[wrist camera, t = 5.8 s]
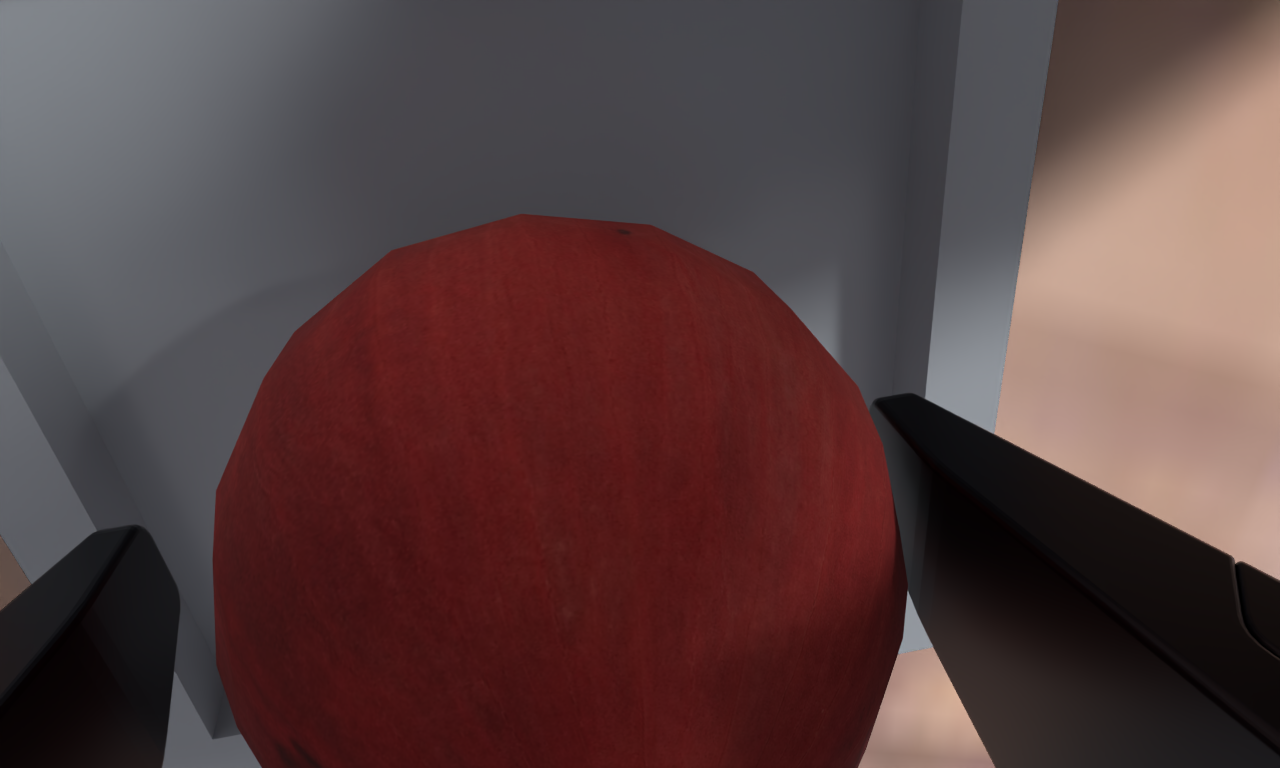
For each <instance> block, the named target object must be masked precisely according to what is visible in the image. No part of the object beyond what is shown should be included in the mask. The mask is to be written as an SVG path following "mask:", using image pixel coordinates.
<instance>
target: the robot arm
mask: <svg viewBox="0 0 1280 768" xmlns="http://www.w3.org/2000/svg"><path fill="white" fill-rule="evenodd" d="M869 413H870V415H871V418H872V420H873V422H874V425H875V427H876V429H877V432H878V434H879V436H880V439H881V441H882V443H883V448H884V453H885V458H886V463H887V468H888V473H889V478H890V483H891V489H892V494H893V499H894V504H895V509H896V514H897V519H898V524H899V529H900V536H901V542H902V549H903V555H904V562H905V568H906V574H907V581H908V592H909V595H910V597H911V600H912V602H913V605H914V607H915V610H916V612H917V615H918V617H919V619H920V621H921V623H922V625H923V627H924V630H925V632H926V634H927V636H928V638H929V640H930V642H931V644H932V646H933V648H934V649H935V651H936V653H937V655H938V657H939V659H940V661H941V663H942V665H943V667H944V669H945V671H946V673H947V675H948V677H949V678H950V680H951V682H952V684H953V686H954V688H955V690H956V692H957V694H958V696H959V698H960V700H961V702H962V704H963V706H964V708H965V709H966V711H967V713H968V715H969V717H970V719H971V721H972V723H973V725H974V727H975V729H976V731H977V733H978V735H979V737H980V739H981V740H982V742H983V744H984V746H985V748H986V750H987V752H988V754H989V756H990V758H991V760H992V762H993V764H994V766H995V768H1280V580H1278V579H1276V578H1274V577H1272V576H1270V575H1268V574H1266V573H1264V572H1262V571H1261V570H1259V569H1257V568H1255V567H1253V566H1251V565H1249V564H1247V563H1245V562H1242V561H1240V562H1237V563H1236V564H1235V560H1234V558H1233V557H1232V556H1231V555H1229V554H1227V553H1225V552H1223V551H1221V550H1219V549H1217V548H1215V547H1213V546H1211V545H1209V544H1207V543H1205V542H1203V541H1201V540H1200V539H1198V538H1196V537H1194V536H1192V535H1190V534H1188V533H1186V532H1184V531H1182V530H1180V529H1178V528H1176V527H1174V526H1172V525H1170V524H1168V523H1166V522H1164V521H1163V520H1161V519H1159V518H1157V517H1155V516H1153V515H1151V514H1149V513H1147V512H1145V511H1143V510H1141V509H1139V508H1137V507H1135V506H1133V505H1131V504H1129V503H1127V502H1126V501H1124V500H1122V499H1120V498H1118V497H1116V496H1114V495H1112V494H1110V493H1108V492H1106V491H1104V490H1102V489H1100V488H1098V487H1096V486H1094V485H1092V484H1090V483H1089V482H1087V481H1085V480H1083V479H1081V478H1079V477H1077V476H1075V475H1073V474H1071V473H1069V472H1067V471H1065V470H1063V469H1061V468H1059V467H1057V466H1055V465H1053V464H1052V463H1050V462H1048V461H1046V460H1044V459H1042V458H1040V457H1038V456H1036V455H1034V454H1032V453H1030V452H1028V451H1026V450H1024V449H1022V448H1020V447H1018V446H1016V445H1014V444H1013V443H1011V442H1009V441H1007V440H1005V439H1003V438H1001V437H999V436H997V435H995V434H993V433H991V432H989V431H987V430H985V429H983V428H981V427H979V426H977V425H976V424H974V423H972V422H970V421H968V420H966V419H964V418H962V417H960V416H958V415H956V414H954V413H952V412H950V411H948V410H946V409H944V408H942V407H940V406H939V405H937V404H935V403H933V402H931V401H929V400H927V399H925V398H923V397H921V396H919V395H917V394H914V393H903V394H897V395H891V396H885V397H879V398H876V399H875V400H874V401H873V402H872V403H871V405H870V408H869ZM180 613H181V600H180V594H179V590H178V587H177V584H176V582H175V580H174V578H173V576H172V574H171V572H170V570H169V568H168V566H167V564H166V562H165V561H164V559H163V557H162V555H161V553H160V551H159V549H158V547H157V545H156V543H155V541H154V539H153V537H152V536H151V534H150V533H149V531H148V530H147V529H146V528H145V527H143V526H140V525H137V524H132V525H126V526H121V527H115V528H109V529H103V530H99V531H96V532H94V533H92V534H90V535H89V536H88V537H87V538H85V539H84V540H83V541H82V542H81V543H80V544H78V545H77V546H76V547H75V548H74V549H72V550H71V551H70V552H69V553H68V554H67V555H65V556H64V557H63V558H62V559H61V560H60V561H58V562H57V563H56V564H55V565H54V566H52V567H51V568H50V569H49V570H48V571H47V572H45V573H44V574H43V575H42V576H41V577H40V578H38V579H37V580H36V581H35V582H34V583H32V584H31V585H30V586H29V587H28V588H27V589H25V590H24V591H23V592H22V593H21V594H20V595H18V596H17V597H16V598H15V599H14V600H12V601H11V602H10V603H9V604H8V605H7V606H5V607H4V608H3V609H2V610H1V611H0V768H162V766H163V761H164V756H165V748H166V741H167V734H168V725H169V716H170V706H171V697H172V688H173V678H174V669H175V660H176V650H177V641H178V632H179V622H180Z"/></svg>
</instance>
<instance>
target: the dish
mask: <svg viewBox="0 0 1280 768" xmlns="http://www.w3.org/2000/svg"><path fill="white" fill-rule="evenodd" d="M1057 6H1058V0H0V535H1V537H2V538H3V540H4V542H5V543H6V545H7V546H8V548H9V549H10V551H11V553H12V554H13V556H14V557H15V559H16V561H17V562H18V564H19V565H20V567H21V568H22V570H23V572H24V573H25V575H26V576H27V578H28V580H29V581H30V583H31V584H32V583H34V582H35V581H36V580H37V579H38V578H40V577H41V576H42V575H43V574H44V573H45V572H47V571H48V570H49V569H50V568H51V567H52V566H54V565H55V564H56V563H57V562H58V561H60V560H61V559H62V558H63V557H64V556H65V555H67V554H68V553H69V552H70V551H71V550H72V549H74V548H75V547H76V546H77V545H78V544H80V543H81V542H82V541H83V540H84V539H85V538H87V537H88V536H89V535H90V534H92V533H94V532H96V531H99V530H103V529H109V528H115V527H121V526H126V525H132V524H137V525H140V526H143V527H145V528H146V529H147V530H148V531H149V533H150V534H151V536H152V537H153V539H154V541H155V543H156V545H157V547H158V549H159V551H160V553H161V555H162V557H163V559H164V561H165V562H166V564H167V566H168V568H169V570H170V572H171V574H172V576H173V578H174V580H175V582H176V584H177V587H178V590H179V594H180V600H181V613H180V622H179V632H178V641H177V650H176V660H175V669H174V678H173V688H172V697H171V706H170V716H169V725H168V734H167V741H166V748H165V756H164V761H163V766H162V768H262V767H261V766H260V764H259V762H258V761H257V759H256V757H255V756H254V754H253V753H252V751H251V749H250V748H249V746H248V744H247V743H246V741H245V739H244V738H243V736H242V734H241V733H240V731H239V730H238V728H237V725H236V722H235V719H234V716H233V713H232V710H231V708H230V705H229V702H228V699H227V696H226V693H225V690H224V687H223V684H222V681H221V678H220V675H219V672H218V669H217V666H216V643H215V616H214V589H213V562H212V559H213V539H214V519H215V499H216V489H217V487H218V485H219V482H220V480H221V478H222V475H223V473H224V470H225V468H226V466H227V463H228V461H229V459H230V456H231V454H232V452H233V449H234V447H235V444H236V442H237V440H238V437H239V435H240V433H241V430H242V428H243V426H244V423H245V421H246V418H247V416H248V414H249V411H250V409H251V407H252V404H253V402H254V400H255V397H256V395H257V392H258V390H259V388H260V385H261V383H262V381H263V378H264V377H265V375H266V374H267V372H268V371H269V369H270V368H271V366H272V365H273V363H274V362H275V360H276V359H277V357H278V356H279V354H280V353H281V351H282V350H283V348H284V347H285V345H286V343H287V342H288V340H289V339H290V337H291V336H292V334H293V333H294V332H295V331H296V330H297V329H298V328H299V327H300V326H302V325H303V324H304V323H305V322H306V321H308V320H309V319H310V318H311V317H312V316H314V315H315V314H316V313H317V312H318V311H320V310H321V309H322V308H323V307H324V306H326V305H327V304H328V303H329V302H330V301H331V300H333V299H334V298H335V297H336V296H337V295H339V294H340V293H341V292H342V291H343V290H345V289H346V288H347V287H348V286H349V285H351V284H352V283H353V282H354V281H355V280H356V279H358V278H359V277H360V276H361V275H362V274H364V273H365V272H366V271H367V270H368V269H370V268H371V267H372V266H373V265H374V264H376V263H377V262H378V261H379V260H380V259H381V258H383V257H384V256H385V255H386V254H387V253H389V252H390V251H391V250H394V249H398V248H401V247H405V246H408V245H412V244H415V243H419V242H423V241H426V240H430V239H433V238H437V237H440V236H444V235H447V234H451V233H455V232H458V231H462V230H465V229H469V228H472V227H476V226H479V225H483V224H487V223H490V222H494V221H497V220H501V219H504V218H508V217H511V216H515V215H518V214H531V215H542V216H554V217H566V218H578V219H590V220H602V221H614V222H626V223H637V224H649V225H653V226H655V227H657V228H659V229H661V230H664V231H666V232H668V233H670V234H672V235H674V236H677V237H679V238H681V239H683V240H685V241H687V242H690V243H692V244H694V245H696V246H698V247H700V248H702V249H705V250H707V251H709V252H711V253H713V254H715V255H718V256H720V257H722V258H724V259H726V260H728V261H731V262H733V263H735V264H737V265H739V266H741V267H743V268H746V269H748V270H750V271H752V272H754V273H755V274H756V275H757V276H758V277H759V278H760V279H761V280H762V281H763V282H764V283H765V284H766V285H767V286H768V287H769V288H770V289H771V290H772V291H773V292H774V293H775V294H776V295H777V296H778V297H779V298H781V299H782V300H783V301H784V302H785V303H786V304H787V305H788V306H789V307H790V308H791V309H792V310H793V312H794V313H795V314H796V315H797V316H798V317H799V319H800V320H801V321H802V322H803V323H804V324H805V325H806V327H807V328H808V329H809V330H810V331H811V332H812V334H813V335H814V336H815V337H816V338H817V339H818V341H819V342H820V343H821V344H822V345H823V346H824V347H825V349H826V350H827V351H828V352H829V353H830V354H831V356H832V357H833V358H834V359H835V360H836V361H837V363H838V364H839V365H840V366H841V367H842V368H843V369H844V371H845V372H846V373H847V374H848V375H849V376H850V378H851V379H852V380H853V381H854V382H855V383H856V385H857V386H858V387H859V390H860V392H861V394H862V397H863V399H864V401H865V404H866V406H867V408H868V411H869V408H870V405H871V403H872V402H873V401H874V400H875V399H876V398H879V397H885V396H891V395H897V394H903V393H914V394H917V395H919V396H921V397H923V398H925V399H927V400H929V401H931V402H933V403H935V404H937V405H939V406H940V407H942V408H944V409H946V410H948V411H950V412H952V413H954V414H956V415H958V416H960V417H962V418H964V419H966V420H968V421H970V422H972V423H974V424H976V425H977V426H979V427H981V428H983V429H985V430H987V431H989V432H991V433H993V434H994V432H995V425H996V418H997V411H998V405H999V398H1000V391H1001V384H1002V378H1003V371H1004V364H1005V357H1006V351H1007V344H1008V337H1009V330H1010V324H1011V317H1012V310H1013V303H1014V297H1015V290H1016V283H1017V276H1018V270H1019V263H1020V256H1021V249H1022V243H1023V236H1024V229H1025V222H1026V216H1027V209H1028V202H1029V195H1030V189H1031V182H1032V175H1033V168H1034V162H1035V155H1036V148H1037V141H1038V135H1039V128H1040V121H1041V114H1042V108H1043V101H1044V94H1045V87H1046V81H1047V74H1048V67H1049V60H1050V54H1051V47H1052V40H1053V33H1054V27H1055V20H1056V13H1057ZM932 647H933V646H932V644H931V642H930V640H929V638H928V636H927V634H926V632H925V630H924V627H923V625H922V623H921V621H920V619H919V617H918V615H917V612H916V610H915V607H914V605H913V602H912V600H911V597H910V595H909V592H907V603H906V613H905V623H904V634H903V640H902V643H901V646H900V649H899V652H898V654H901V653H906V652H911V651H916V650H922V649H927V648H932Z"/></svg>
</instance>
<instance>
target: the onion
mask: <svg viewBox="0 0 1280 768" xmlns="http://www.w3.org/2000/svg"><path fill="white" fill-rule="evenodd" d="M212 562H213V589H214V616H215V643H216V666H217V669H218V672H219V675H220V678H221V681H222V684H223V687H224V690H225V693H226V696H227V699H228V702H229V705H230V708H231V710H232V713H233V716H234V719H235V722H236V725H237V728H238V730H239V731H240V733H241V734H242V736H243V738H244V739H245V741H246V743H247V744H248V746H249V748H250V749H251V751H252V753H253V754H254V756H255V757H256V759H257V761H258V762H259V764H260V766H261V767H262V768H858V766H859V763H860V761H861V759H862V757H863V754H864V752H865V750H866V747H867V744H868V741H869V738H870V735H871V732H872V729H873V727H874V724H875V721H876V718H877V715H878V712H879V709H880V706H881V703H882V700H883V697H884V694H885V691H886V688H887V685H888V682H889V679H890V676H891V673H892V670H893V667H894V664H895V661H896V658H897V655H898V652H899V649H900V646H901V643H902V640H903V634H904V623H905V613H906V603H907V592H908V581H907V574H906V568H905V562H904V555H903V549H902V542H901V536H900V529H899V524H898V519H897V514H896V509H895V504H894V499H893V494H892V489H891V483H890V478H889V473H888V468H887V463H886V458H885V453H884V448H883V443H882V441H881V439H880V436H879V434H878V432H877V429H876V427H875V425H874V422H873V420H872V418H871V415H870V413H869V411H868V408H867V406H866V404H865V401H864V399H863V397H862V394H861V392H860V390H859V387H858V386H857V385H856V383H855V382H854V381H853V380H852V379H851V378H850V376H849V375H848V374H847V373H846V372H845V371H844V369H843V368H842V367H841V366H840V365H839V364H838V363H837V361H836V360H835V359H834V358H833V357H832V356H831V354H830V353H829V352H828V351H827V350H826V349H825V347H824V346H823V345H822V344H821V343H820V342H819V341H818V339H817V338H816V337H815V336H814V335H813V334H812V332H811V331H810V330H809V329H808V328H807V327H806V325H805V324H804V323H803V322H802V321H801V320H800V319H799V317H798V316H797V315H796V314H795V313H794V312H793V310H792V309H791V308H790V307H789V306H788V305H787V304H786V303H785V302H784V301H783V300H782V299H781V298H779V297H778V296H777V295H776V294H775V293H774V292H773V291H772V290H771V289H770V288H769V287H768V286H767V285H766V284H765V283H764V282H763V281H762V280H761V279H760V278H759V277H758V276H757V275H756V274H755V273H754V272H752V271H750V270H748V269H746V268H743V267H741V266H739V265H737V264H735V263H733V262H731V261H728V260H726V259H724V258H722V257H720V256H718V255H715V254H713V253H711V252H709V251H707V250H705V249H702V248H700V247H698V246H696V245H694V244H692V243H690V242H687V241H685V240H683V239H681V238H679V237H677V236H674V235H672V234H670V233H668V232H666V231H664V230H661V229H659V228H657V227H655V226H653V225H649V224H637V223H626V222H614V221H602V220H590V219H578V218H566V217H554V216H542V215H531V214H518V215H515V216H511V217H508V218H504V219H501V220H497V221H494V222H490V223H487V224H483V225H479V226H476V227H472V228H469V229H465V230H462V231H458V232H455V233H451V234H447V235H444V236H440V237H437V238H433V239H430V240H426V241H423V242H419V243H415V244H412V245H408V246H405V247H401V248H398V249H394V250H391V251H390V252H389V253H387V254H386V255H385V256H384V257H383V258H381V259H380V260H379V261H378V262H377V263H376V264H374V265H373V266H372V267H371V268H370V269H368V270H367V271H366V272H365V273H364V274H362V275H361V276H360V277H359V278H358V279H356V280H355V281H354V282H353V283H352V284H351V285H349V286H348V287H347V288H346V289H345V290H343V291H342V292H341V293H340V294H339V295H337V296H336V297H335V298H334V299H333V300H331V301H330V302H329V303H328V304H327V305H326V306H324V307H323V308H322V309H321V310H320V311H318V312H317V313H316V314H315V315H314V316H312V317H311V318H310V319H309V320H308V321H306V322H305V323H304V324H303V325H302V326H300V327H299V328H298V329H297V330H296V331H295V332H294V333H293V334H292V336H291V337H290V339H289V340H288V342H287V343H286V345H285V347H284V348H283V350H282V351H281V353H280V354H279V356H278V357H277V359H276V360H275V362H274V363H273V365H272V366H271V368H270V369H269V371H268V372H267V374H266V375H265V377H264V378H263V381H262V383H261V385H260V388H259V390H258V392H257V395H256V397H255V400H254V402H253V404H252V407H251V409H250V411H249V414H248V416H247V418H246V421H245V423H244V426H243V428H242V430H241V433H240V435H239V437H238V440H237V442H236V444H235V447H234V449H233V452H232V454H231V456H230V459H229V461H228V463H227V466H226V468H225V470H224V473H223V475H222V478H221V480H220V482H219V485H218V487H217V489H216V499H215V519H214V539H213V559H212Z"/></svg>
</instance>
